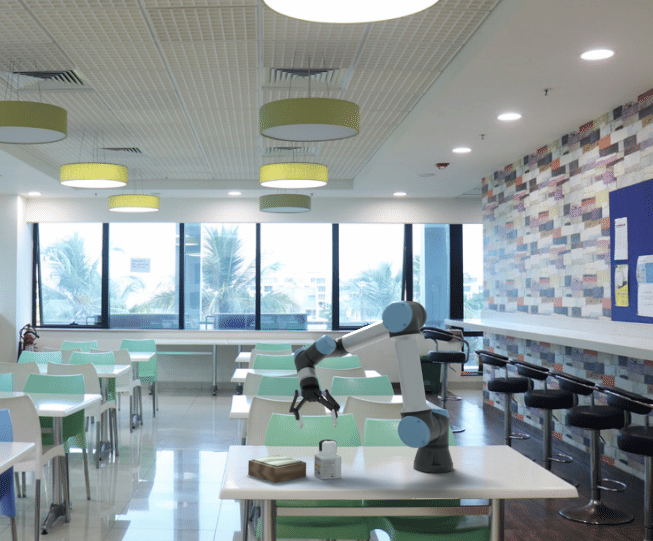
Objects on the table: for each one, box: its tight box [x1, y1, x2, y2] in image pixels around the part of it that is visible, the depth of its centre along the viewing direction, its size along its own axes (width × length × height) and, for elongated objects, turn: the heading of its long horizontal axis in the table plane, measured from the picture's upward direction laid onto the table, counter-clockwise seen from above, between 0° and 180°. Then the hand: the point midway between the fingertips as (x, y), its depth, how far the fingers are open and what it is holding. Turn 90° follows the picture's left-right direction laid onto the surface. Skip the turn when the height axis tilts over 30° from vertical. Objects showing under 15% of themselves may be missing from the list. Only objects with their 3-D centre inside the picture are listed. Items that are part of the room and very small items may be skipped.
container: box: [313, 439, 342, 481], centre depth 249 cm, size 8×8×13 cm
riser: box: [247, 454, 307, 484], centre depth 249 cm, size 16×14×6 cm
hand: (318, 425), depth 260 cm, fingers open, 13 cm apart
